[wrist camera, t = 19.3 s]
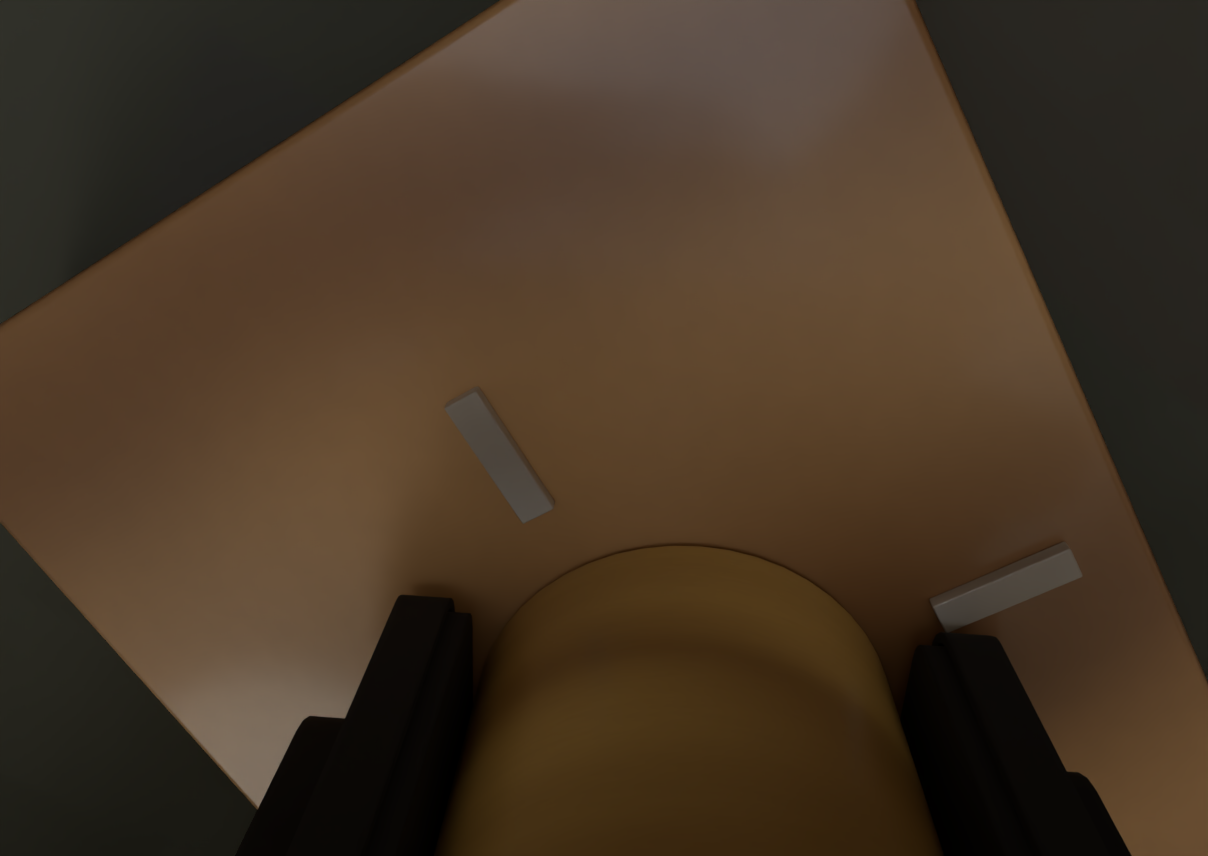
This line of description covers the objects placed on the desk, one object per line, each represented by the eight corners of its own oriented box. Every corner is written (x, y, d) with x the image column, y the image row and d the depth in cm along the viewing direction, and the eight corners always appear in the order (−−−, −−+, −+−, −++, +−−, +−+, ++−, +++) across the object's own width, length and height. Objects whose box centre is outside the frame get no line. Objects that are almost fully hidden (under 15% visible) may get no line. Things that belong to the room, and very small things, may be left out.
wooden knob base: (52, 308, 13) (-129, 405, 10) (782, -160, 10) (828, -217, 7) (614, 1008, 17) (604, 1216, 14) (1213, 797, 15) (1348, 996, 12)
